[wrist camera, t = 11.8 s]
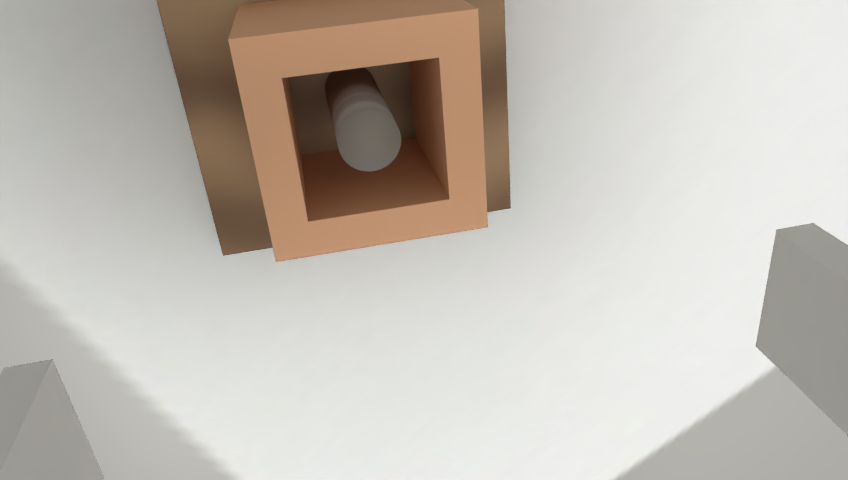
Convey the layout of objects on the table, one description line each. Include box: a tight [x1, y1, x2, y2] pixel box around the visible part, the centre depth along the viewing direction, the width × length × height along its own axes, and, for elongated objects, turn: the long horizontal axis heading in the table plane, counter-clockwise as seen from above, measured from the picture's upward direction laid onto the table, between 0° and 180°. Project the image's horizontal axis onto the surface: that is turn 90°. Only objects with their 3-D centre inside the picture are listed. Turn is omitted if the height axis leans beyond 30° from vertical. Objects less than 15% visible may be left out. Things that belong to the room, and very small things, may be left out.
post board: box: [157, 0, 511, 256], centre depth 27 cm, size 14×14×8 cm
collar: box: [228, 0, 488, 262], centre depth 27 cm, size 8×8×7 cm
